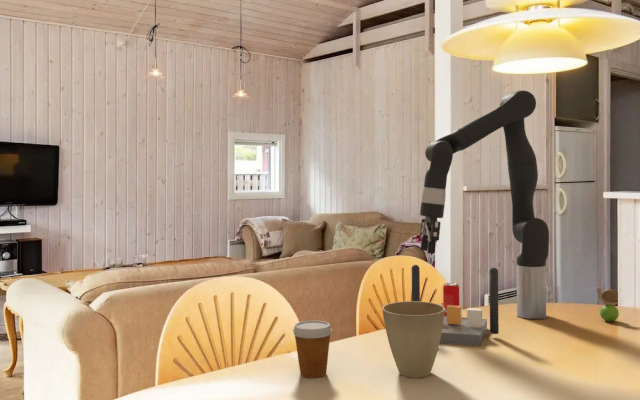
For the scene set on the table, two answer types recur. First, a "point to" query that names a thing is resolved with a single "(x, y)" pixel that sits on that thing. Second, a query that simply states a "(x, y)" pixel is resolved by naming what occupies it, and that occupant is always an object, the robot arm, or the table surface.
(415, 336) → the plant pot
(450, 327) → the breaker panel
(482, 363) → the table surface
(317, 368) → the disposable coffee cup
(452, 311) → the block
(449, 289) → the beverage can
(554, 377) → the table surface
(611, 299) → the snail figurine
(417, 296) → the dark grey rod
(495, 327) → the dark grey post
